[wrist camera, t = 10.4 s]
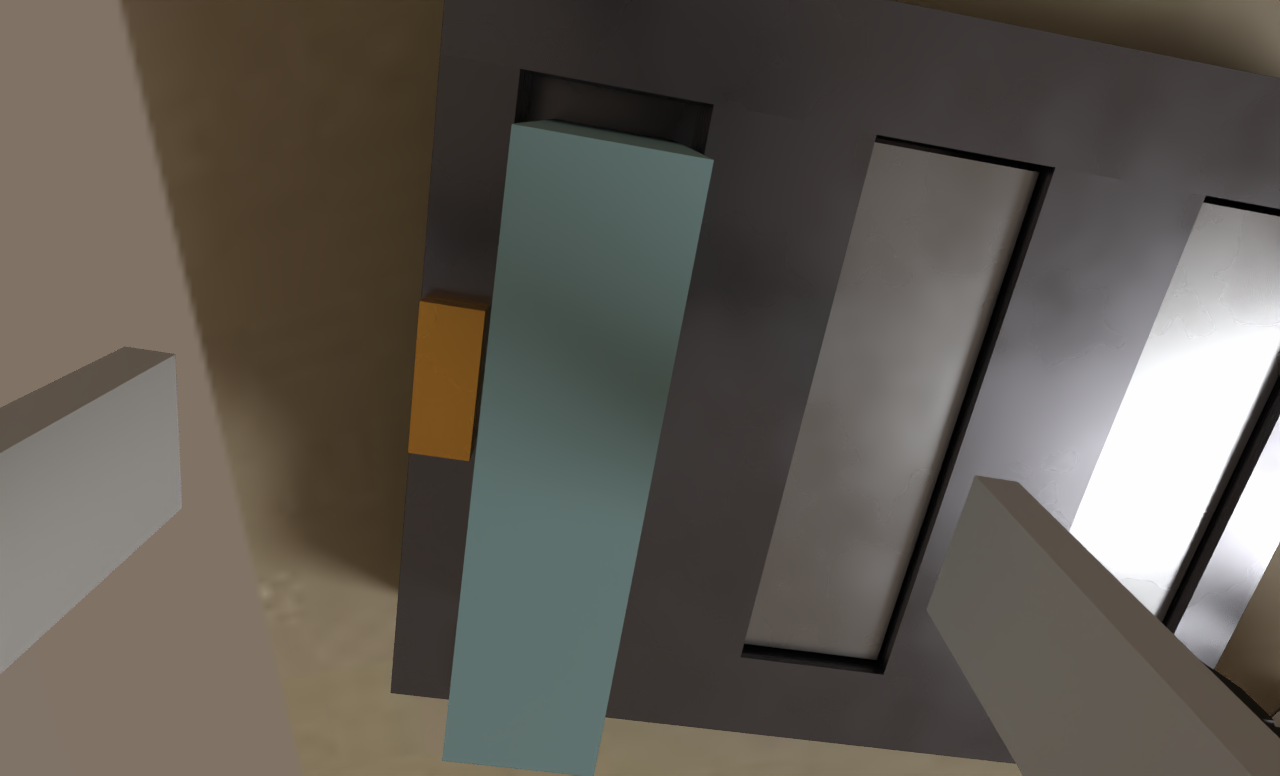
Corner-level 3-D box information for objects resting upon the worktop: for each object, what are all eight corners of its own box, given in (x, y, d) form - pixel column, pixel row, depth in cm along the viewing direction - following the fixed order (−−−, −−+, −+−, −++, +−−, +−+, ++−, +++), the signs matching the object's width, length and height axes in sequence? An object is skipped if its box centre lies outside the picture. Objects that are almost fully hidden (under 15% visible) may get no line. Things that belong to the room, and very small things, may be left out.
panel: (553, 118, 19) (511, 123, 11) (674, 140, 19) (714, 160, 11) (499, 544, 23) (442, 760, 15) (600, 558, 23) (593, 777, 15)
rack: (484, -48, 18) (444, -96, 14) (1331, 119, 20) (1527, 121, 16) (425, 603, 24) (384, 709, 20) (1080, 683, 26) (1171, 797, 22)
